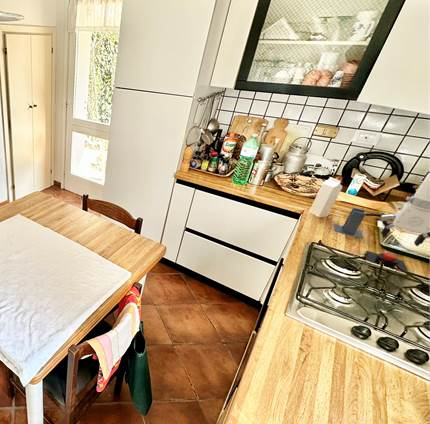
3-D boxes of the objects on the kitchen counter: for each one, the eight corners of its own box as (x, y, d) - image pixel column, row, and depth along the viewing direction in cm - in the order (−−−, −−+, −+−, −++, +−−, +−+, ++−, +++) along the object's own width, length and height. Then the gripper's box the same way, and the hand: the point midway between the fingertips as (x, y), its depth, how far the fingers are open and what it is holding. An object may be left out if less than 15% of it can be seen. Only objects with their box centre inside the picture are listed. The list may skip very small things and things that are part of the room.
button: (393, 258, 130) (395, 254, 129) (394, 262, 127) (397, 258, 126) (381, 254, 132) (384, 251, 131) (383, 258, 129) (385, 255, 128)
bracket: (360, 232, 154) (373, 210, 148) (362, 240, 148) (376, 217, 141) (332, 225, 160) (344, 204, 154) (333, 232, 153) (345, 210, 147)
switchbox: (400, 264, 132) (406, 257, 130) (405, 276, 125) (411, 269, 123) (363, 254, 138) (368, 247, 136) (366, 265, 131) (371, 257, 129)
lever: (388, 216, 144) (389, 211, 143) (390, 220, 140) (391, 215, 140) (352, 213, 151) (353, 209, 151) (353, 217, 148) (354, 213, 147)
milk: (317, 218, 166) (336, 181, 155) (307, 213, 171) (325, 177, 160) (327, 217, 167) (346, 180, 156) (316, 212, 172) (334, 176, 162)
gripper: (395, 200, 119) (372, 236, 127) (461, 214, 110) (431, 252, 118) (392, 193, 124) (370, 229, 133) (455, 206, 115) (427, 243, 123)
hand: (399, 240), depth 125 cm, fingers open, 9 cm apart
